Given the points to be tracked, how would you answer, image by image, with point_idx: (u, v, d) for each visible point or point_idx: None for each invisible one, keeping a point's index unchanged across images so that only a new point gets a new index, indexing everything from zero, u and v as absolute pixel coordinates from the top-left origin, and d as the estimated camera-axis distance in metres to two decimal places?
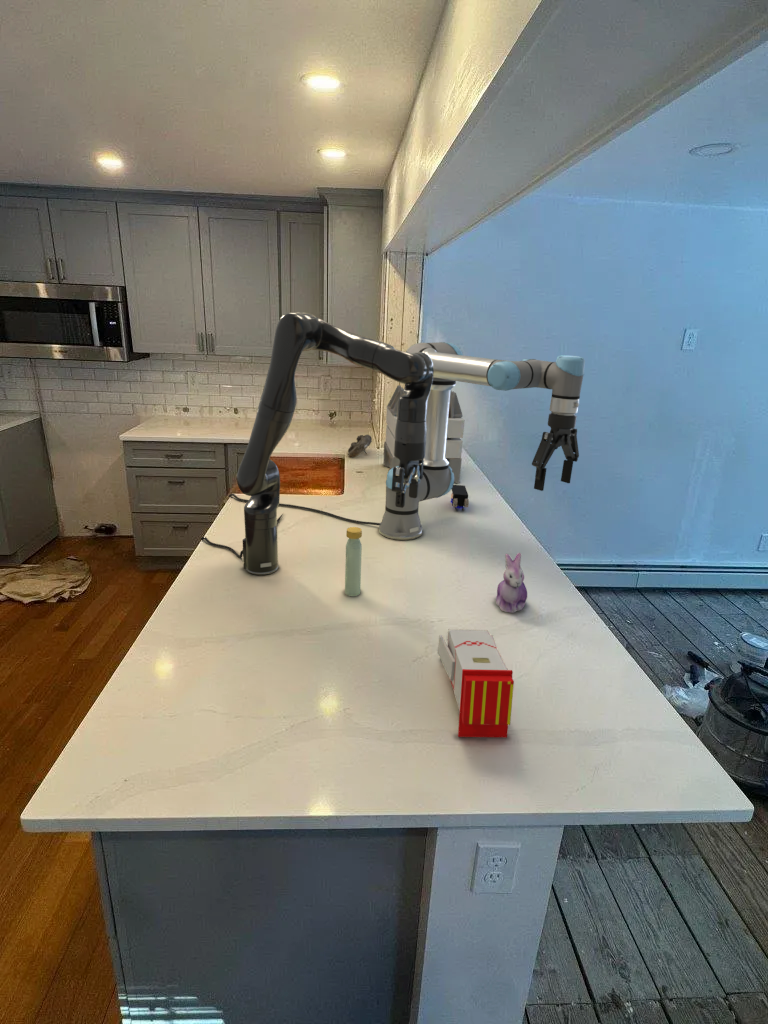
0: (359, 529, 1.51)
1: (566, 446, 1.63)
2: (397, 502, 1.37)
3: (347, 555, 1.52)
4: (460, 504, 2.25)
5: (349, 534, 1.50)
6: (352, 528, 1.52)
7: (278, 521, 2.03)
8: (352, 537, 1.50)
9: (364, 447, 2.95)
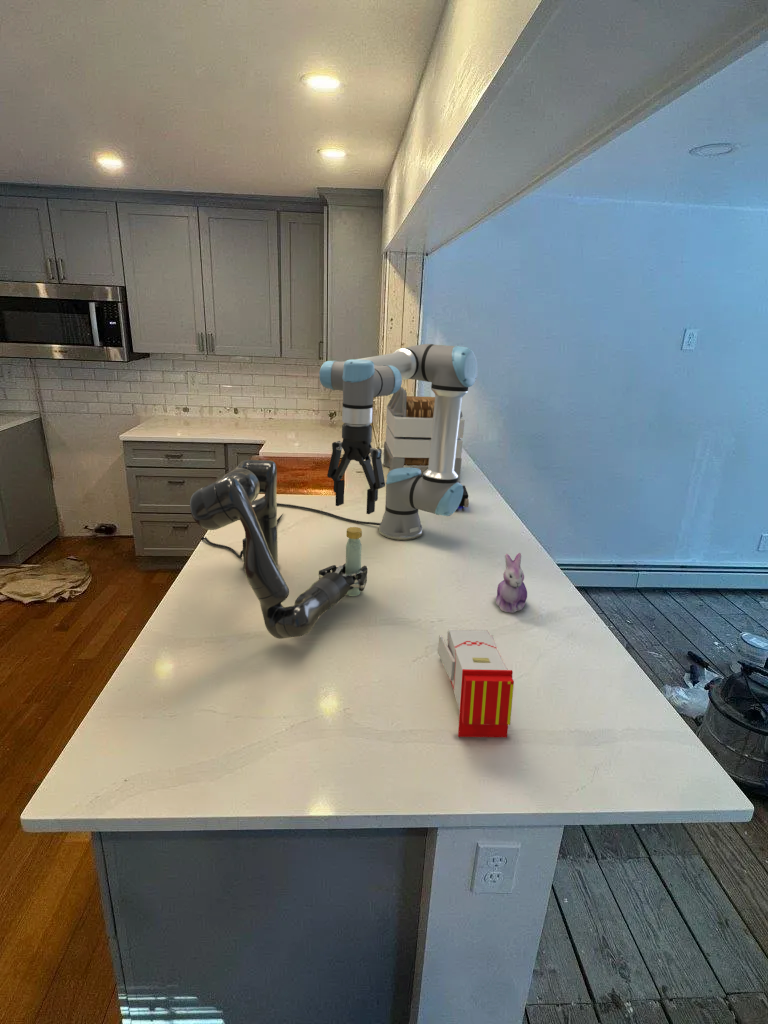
0: (359, 529, 1.51)
1: (349, 461, 1.47)
2: None
3: (347, 555, 1.52)
4: (460, 504, 2.25)
5: (349, 534, 1.50)
6: (352, 528, 1.52)
7: (278, 521, 2.03)
8: (352, 537, 1.50)
9: None
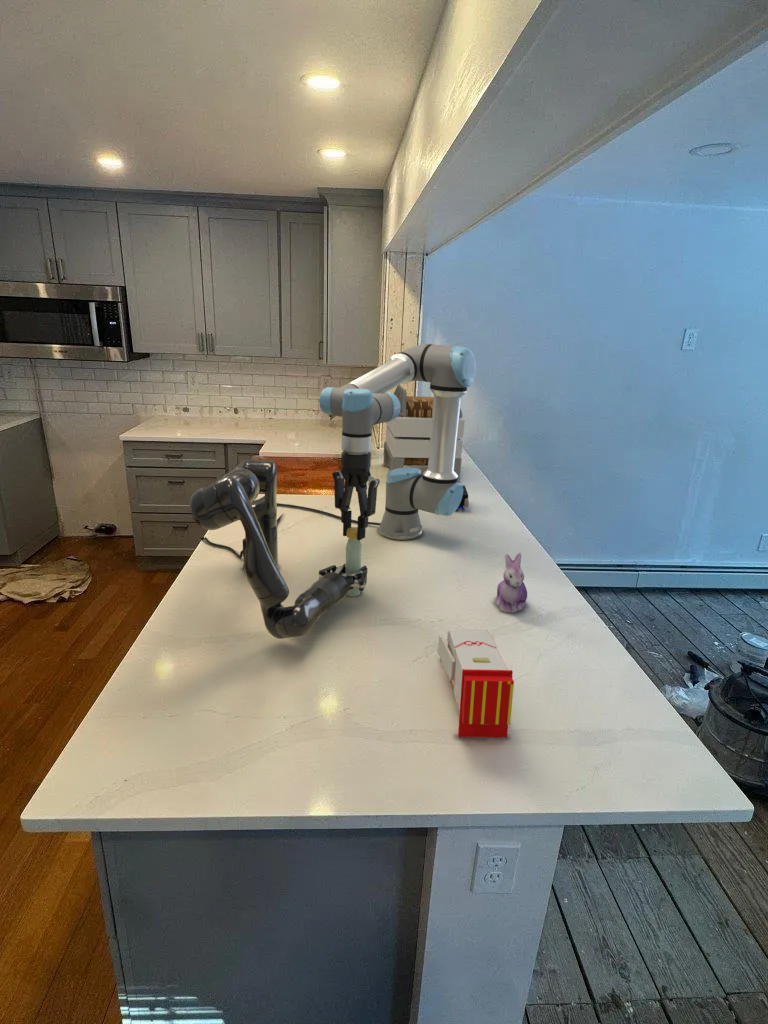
0: None
1: (352, 488, 1.49)
2: None
3: (347, 555, 1.52)
4: (460, 504, 2.25)
5: (349, 534, 1.50)
6: (352, 528, 1.52)
7: (278, 521, 2.03)
8: (352, 537, 1.50)
9: None
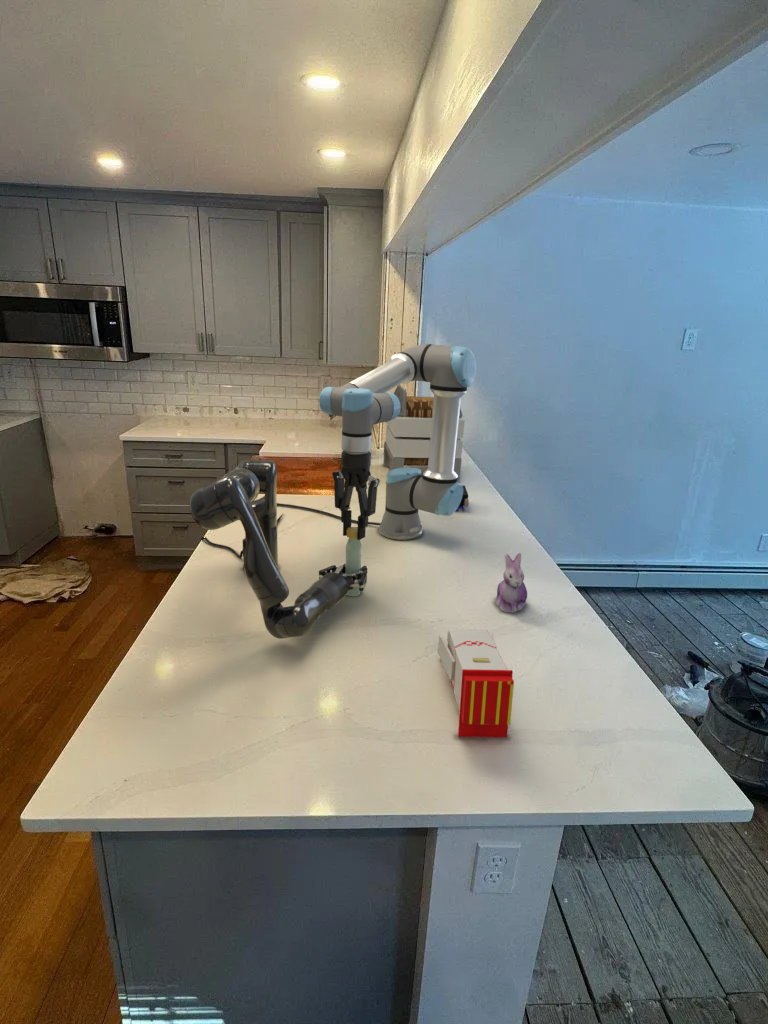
0: (351, 527, 1.52)
1: (352, 488, 1.49)
2: None
3: (347, 555, 1.52)
4: (460, 504, 2.25)
5: None
6: (351, 530, 1.50)
7: (278, 521, 2.03)
8: None
9: None
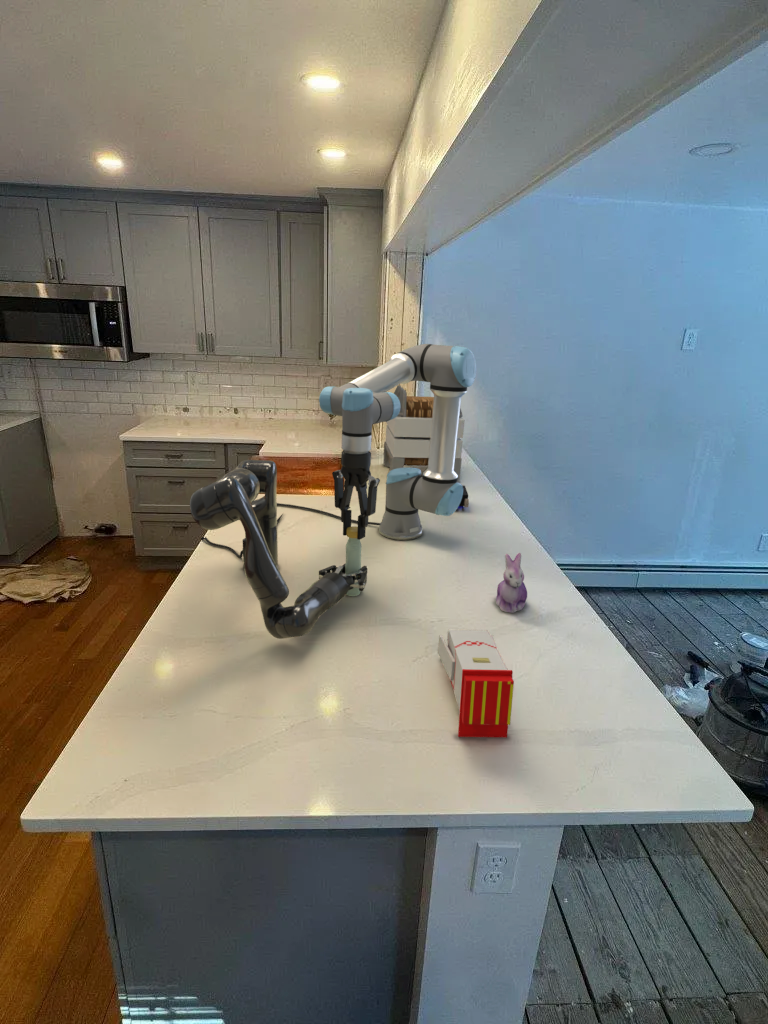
0: (350, 530, 1.50)
1: (352, 487, 1.49)
2: None
3: (347, 555, 1.52)
4: (460, 504, 2.25)
5: None
6: (357, 529, 1.51)
7: (278, 521, 2.03)
8: None
9: None
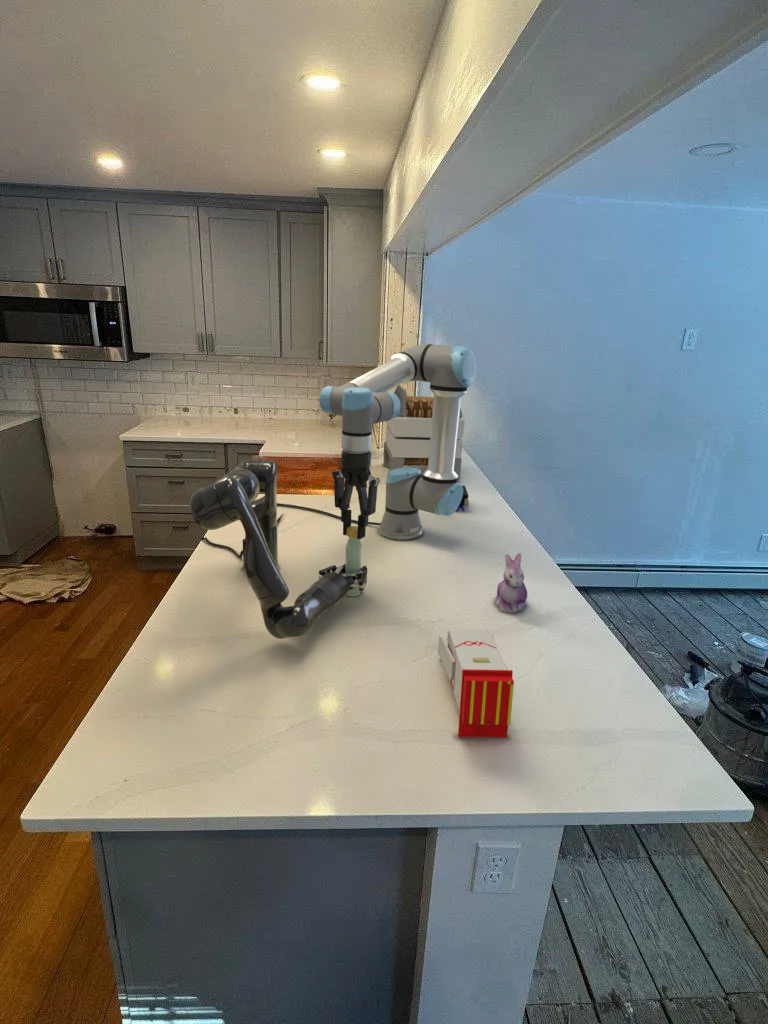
0: None
1: (352, 487, 1.49)
2: None
3: (347, 555, 1.52)
4: (460, 504, 2.25)
5: (346, 531, 1.51)
6: (355, 527, 1.52)
7: (278, 521, 2.03)
8: (348, 535, 1.50)
9: None
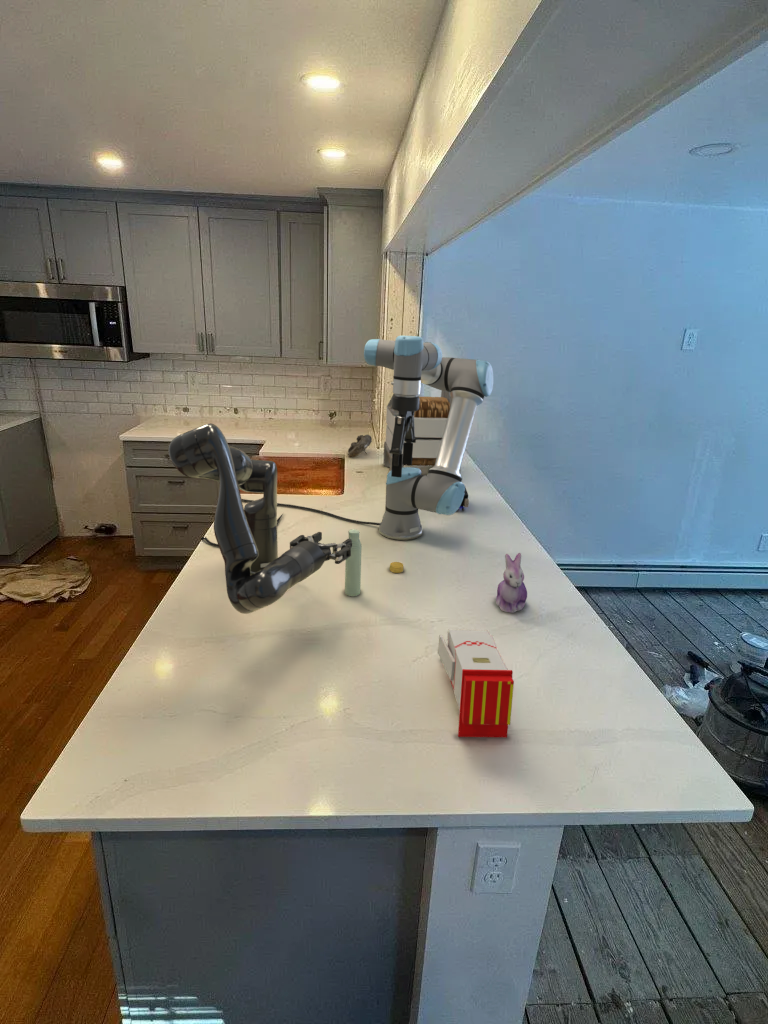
0: (397, 562, 1.73)
1: None
2: None
3: None
4: None
5: (400, 569, 1.70)
6: (393, 564, 1.71)
7: (278, 521, 2.03)
8: (402, 570, 1.71)
9: (364, 447, 2.95)
